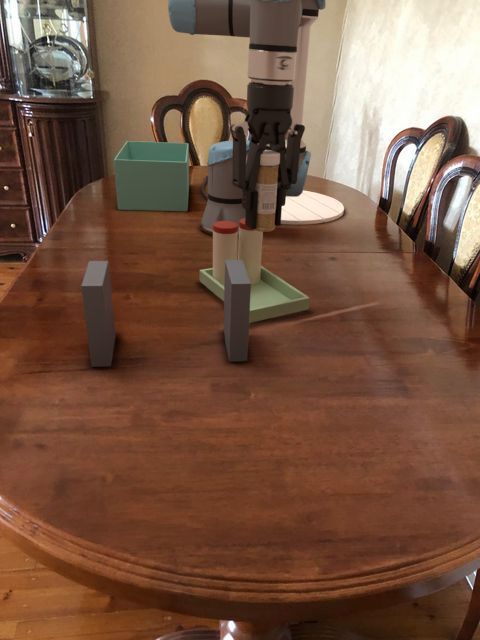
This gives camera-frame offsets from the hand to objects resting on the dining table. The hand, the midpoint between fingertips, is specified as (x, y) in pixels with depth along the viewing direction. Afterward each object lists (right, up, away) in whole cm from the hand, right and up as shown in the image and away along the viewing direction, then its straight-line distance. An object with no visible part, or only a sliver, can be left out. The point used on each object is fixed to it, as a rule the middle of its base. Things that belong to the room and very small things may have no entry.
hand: (262, 225), depth 96 cm
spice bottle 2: (-3, -8, +19) cm, 21 cm away
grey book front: (-27, -23, -8) cm, 36 cm away
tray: (-2, -12, +14) cm, 18 cm away
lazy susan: (+6, +24, +76) cm, 80 cm away
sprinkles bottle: (0, -1, 0) cm, 1 cm away
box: (-35, +27, +77) cm, 89 cm away
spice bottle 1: (-8, -9, +16) cm, 20 cm away
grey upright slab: (-5, -22, -4) cm, 23 cm away
